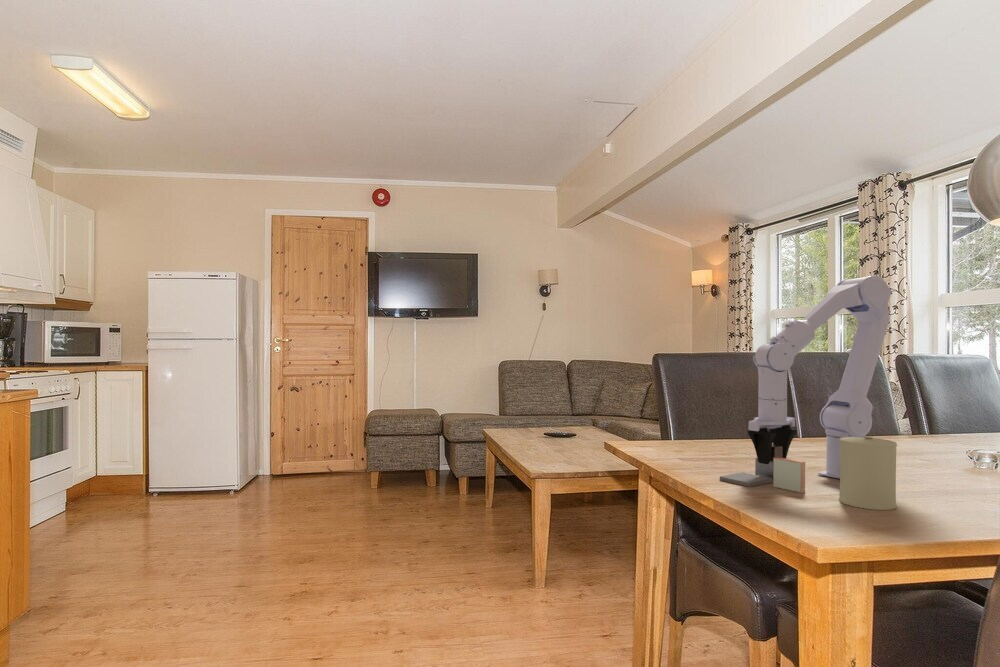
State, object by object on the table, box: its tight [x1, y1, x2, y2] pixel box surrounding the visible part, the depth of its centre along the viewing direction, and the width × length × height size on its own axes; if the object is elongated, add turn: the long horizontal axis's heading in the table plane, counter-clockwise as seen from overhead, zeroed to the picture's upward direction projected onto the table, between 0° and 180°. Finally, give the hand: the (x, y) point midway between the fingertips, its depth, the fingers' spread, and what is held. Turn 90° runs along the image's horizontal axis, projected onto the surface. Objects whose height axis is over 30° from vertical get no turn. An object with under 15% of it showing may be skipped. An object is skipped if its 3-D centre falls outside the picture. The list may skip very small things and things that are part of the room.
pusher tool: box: [754, 444, 783, 481], centre depth 136 cm, size 3×6×7 cm, turn 35°
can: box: [838, 436, 898, 511], centre depth 116 cm, size 9×9×12 cm
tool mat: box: [719, 471, 773, 488], centre depth 132 cm, size 8×7×1 cm
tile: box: [772, 457, 806, 494], centre depth 126 cm, size 1×6×6 cm, turn 35°
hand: (772, 461), depth 136 cm, fingers open, 6 cm apart
